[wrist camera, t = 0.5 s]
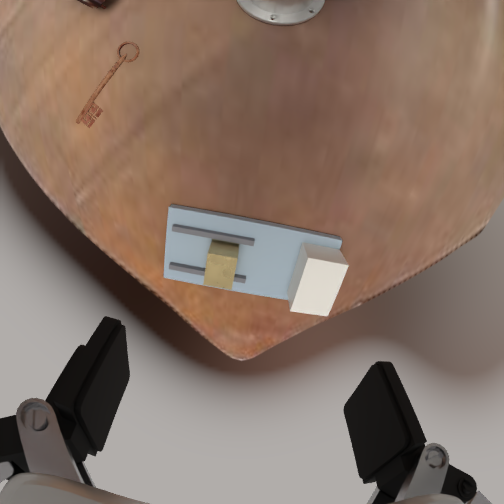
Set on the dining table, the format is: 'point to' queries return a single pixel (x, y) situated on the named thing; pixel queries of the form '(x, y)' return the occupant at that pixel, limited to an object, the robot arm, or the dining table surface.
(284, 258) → the plate
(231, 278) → the block
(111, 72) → the key
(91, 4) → the alarm clock
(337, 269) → the white rectangular block
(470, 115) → the dining table surface
